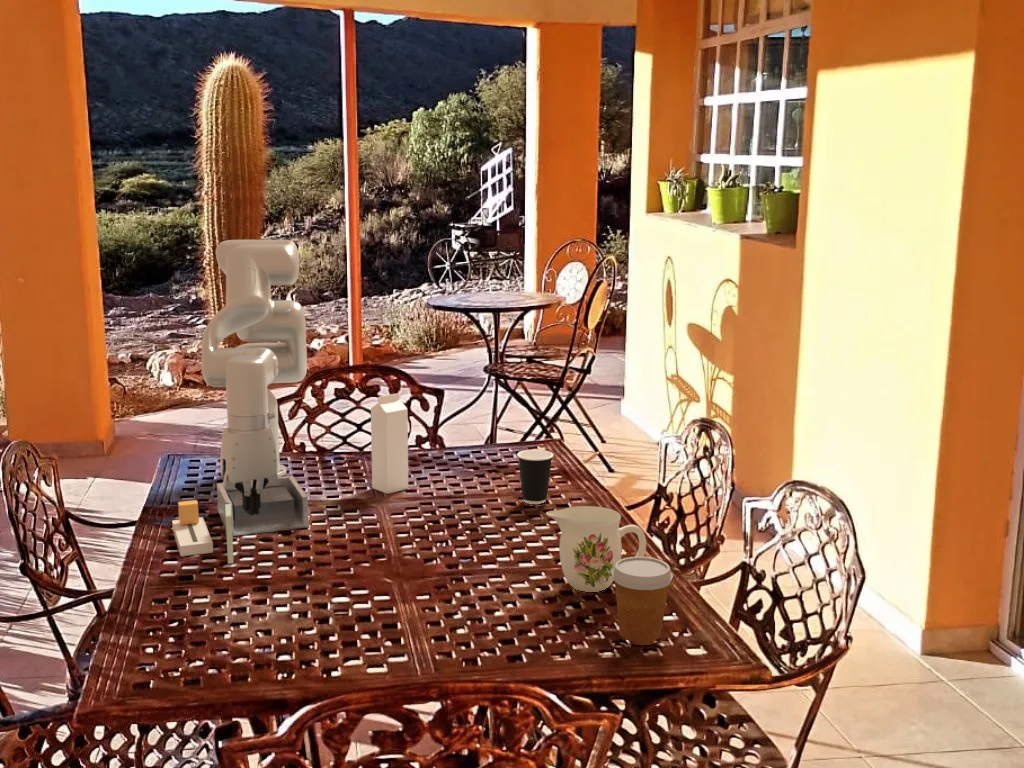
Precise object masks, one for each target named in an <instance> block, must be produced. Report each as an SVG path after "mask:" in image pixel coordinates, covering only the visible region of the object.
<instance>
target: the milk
mask: <svg viewBox="0 0 1024 768" xmlns="http://www.w3.org/2000/svg"><path fill="white" fill-rule="evenodd" d="M400 395H401V394H400V393H399V392H397V393H391V394H386V395H380V396H378V398H377V399H378V400H377V403H376V404H375V405H373V406H372V407H370V427H371V429H370V431H371V434H370V435H371V436H370V437H371V485H372V486H371V488H372V489H373V490H377V491H378V492H382V493H384V494H393V493H396V492H401V491H404V490H409V439H408V438H409V437H408V436H409V435H408V434H409V430H408V429H409V427H408V426H409V424H408V420H409V418H408V416H409V415H408V408H407V406H406V405H405V404H404V403H403V401H401V399H400V398H401V397H400Z"/></svg>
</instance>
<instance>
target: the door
mask: <svg viewBox="0 0 1024 768" xmlns="http://www.w3.org/2000/svg"><path fill="white" fill-rule="evenodd" d="M224 511H225V527H224V529H225V530H224V531H225V538H226V547H227V552H226V553H227V564H235V563H234V562H235V560H234V546H233V545H234V544H233V543H234V541H233V537H234V536H233V526H232V504H231V501H225V502H224Z"/></svg>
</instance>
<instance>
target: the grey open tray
mask: <svg viewBox="0 0 1024 768" xmlns="http://www.w3.org/2000/svg"><path fill="white" fill-rule="evenodd" d="M251 484H252V480H250V481H249V485H250V490H251ZM216 493H217V494H216V495H217V496H216V497H217V513H219V514H218V515H220V516H219V518H220V517H221V518H220V521H221V522H223V523H222V524H223V527H224V528H225V511H224V502H225V501H231V504H232V526H233V537H237V536H243V535H244V536H245V535H246V536H247V535H253V534H262V533H270V532H279V531H287V530H296V529H305V528H309V501H308V500H309V497H308V495H307V494H306V493H305V491H304V489H302V487H301V485H300V484H299V483H298V481H297V480H296V478H295V477H294V476H293V475H290V476H289V475H288V476H281V477H278V478H277V479H276V480H274V481H271V482H268V484H267V485H266V486H265V487H264V489H263V492H262V493H261V494H260V501H261V507H260V508H259V514H254V515H252V516H251V515H249V514H248V513H247V512H245V510H244V509H243V499H242V493H241V492H240V491H239V490H237V489H226V488H225V487H224V486H223V482H217V483H216Z"/></svg>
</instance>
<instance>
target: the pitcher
mask: <svg viewBox="0 0 1024 768" xmlns="http://www.w3.org/2000/svg"><path fill="white" fill-rule="evenodd" d="M545 514H546V515H547V517H549V518H551V519H553V520H554V521H555V522H556V524H557V525H558V527H559V529H560V532H561V533H560V537H559V560H560V566H561V569H562V572H563V576H564V578H565V579H566V582H567V583H568V584H569V585H570V587H571V586H572V587H573V588H574V589H573V588H572V587H571V588H572V589H573V590H575V589H576V590H575V591H577V590H580V591H585V592H598V593H600V592H599V591H602V590H605V589H606V588H609V587H610V585H612V583H613V582H614V579H613V576H612V570H613V569H614V567H615V563H616V562H617V561H619V560H621V559H622V554H623V553H622V552H623V550H622V549H623V546H622V538H623V537H624V535H626V534H629V533H634V534H636V535H637V538H638V542H639V545H638V546H639V547H638V550H637V553H636V555H635V556H634V557H645V554H646V550H647V539H646V538H647V537H646V535H645V533H644V531H643V530H642V529H641V527H639V526H638V525H636V524H627V525H625V526H622V527H620V523H621V520H622V516H621V514H620V513H619V512H618V511H616V510H614V509H611V508H609V507H602V506H594V505H583V506H581V505H579V506H571V507H566V508H563V509H557V510H556V509H555V510H549V511H547V512H545ZM606 590H607V589H606ZM606 590H605V591H606ZM580 591H579V592H580ZM585 592H584V593H585ZM602 592H603V591H602Z"/></svg>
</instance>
